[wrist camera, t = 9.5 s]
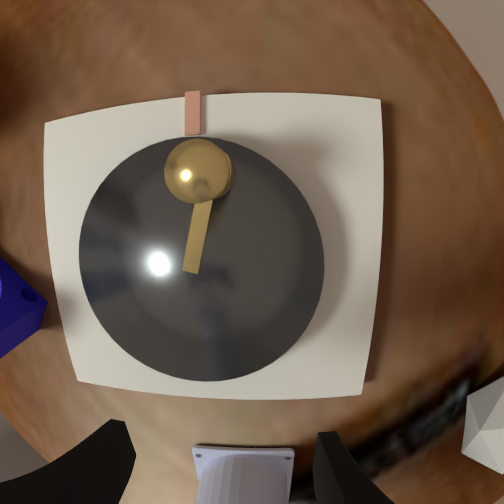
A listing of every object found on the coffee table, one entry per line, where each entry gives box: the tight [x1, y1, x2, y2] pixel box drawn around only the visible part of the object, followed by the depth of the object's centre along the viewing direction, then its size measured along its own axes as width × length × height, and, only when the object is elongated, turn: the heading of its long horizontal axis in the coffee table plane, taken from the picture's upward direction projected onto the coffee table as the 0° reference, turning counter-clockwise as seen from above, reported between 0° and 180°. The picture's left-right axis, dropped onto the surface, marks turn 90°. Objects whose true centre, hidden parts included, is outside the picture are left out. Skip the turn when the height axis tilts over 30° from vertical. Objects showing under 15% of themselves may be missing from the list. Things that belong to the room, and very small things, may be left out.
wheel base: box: [44, 91, 383, 400], centre depth 17 cm, size 18×20×2 cm
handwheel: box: [79, 136, 325, 382], centre depth 14 cm, size 13×13×4 cm
